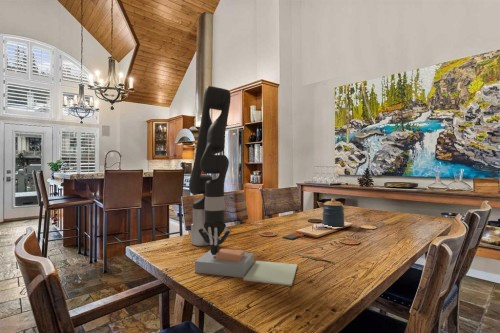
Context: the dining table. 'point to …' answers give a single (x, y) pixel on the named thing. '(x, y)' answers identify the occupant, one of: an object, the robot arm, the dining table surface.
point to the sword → (311, 257)
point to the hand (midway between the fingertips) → (214, 254)
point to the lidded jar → (333, 213)
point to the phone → (293, 236)
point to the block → (230, 254)
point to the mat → (272, 273)
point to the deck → (224, 265)
